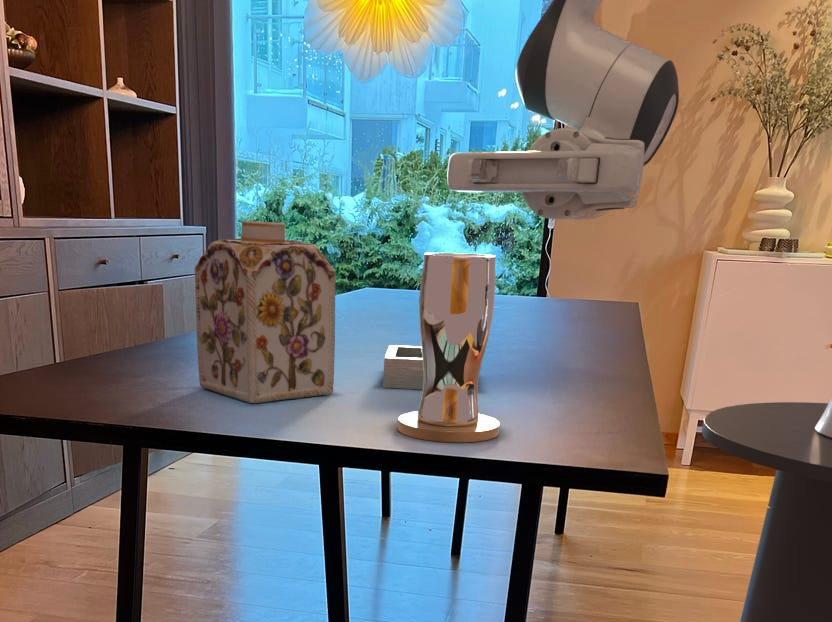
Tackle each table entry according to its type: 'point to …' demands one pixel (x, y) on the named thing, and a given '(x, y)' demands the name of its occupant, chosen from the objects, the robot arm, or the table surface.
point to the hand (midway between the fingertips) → (518, 168)
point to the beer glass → (454, 334)
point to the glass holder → (403, 367)
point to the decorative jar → (265, 316)
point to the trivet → (448, 429)
